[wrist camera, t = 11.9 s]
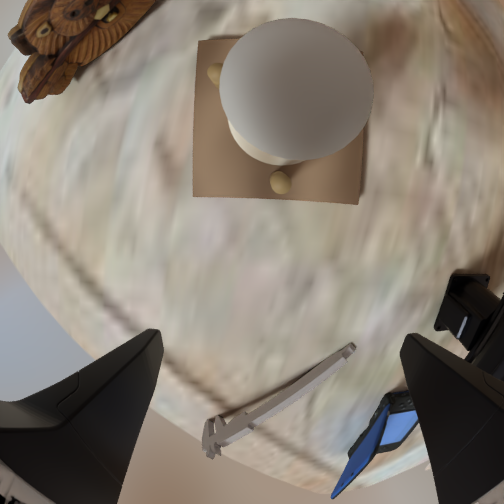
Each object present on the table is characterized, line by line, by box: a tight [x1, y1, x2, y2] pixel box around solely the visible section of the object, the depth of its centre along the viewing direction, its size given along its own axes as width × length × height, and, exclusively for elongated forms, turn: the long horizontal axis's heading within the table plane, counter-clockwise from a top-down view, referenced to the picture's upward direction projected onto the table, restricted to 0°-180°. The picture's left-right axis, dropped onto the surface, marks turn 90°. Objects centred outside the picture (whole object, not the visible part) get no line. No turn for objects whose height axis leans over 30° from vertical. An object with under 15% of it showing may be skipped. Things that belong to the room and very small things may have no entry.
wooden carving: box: [8, 0, 156, 104], centre depth 11 cm, size 16×5×10 cm, turn 135°
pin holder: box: [193, 39, 364, 205], centre depth 16 cm, size 12×12×4 cm
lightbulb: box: [219, 18, 374, 160], centre depth 12 cm, size 6×6×11 cm
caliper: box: [202, 343, 355, 459], centre depth 25 cm, size 20×1×6 cm, turn 131°
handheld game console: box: [331, 391, 419, 499], centre depth 26 cm, size 16×13×9 cm
